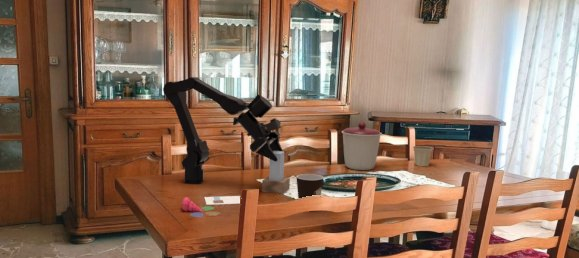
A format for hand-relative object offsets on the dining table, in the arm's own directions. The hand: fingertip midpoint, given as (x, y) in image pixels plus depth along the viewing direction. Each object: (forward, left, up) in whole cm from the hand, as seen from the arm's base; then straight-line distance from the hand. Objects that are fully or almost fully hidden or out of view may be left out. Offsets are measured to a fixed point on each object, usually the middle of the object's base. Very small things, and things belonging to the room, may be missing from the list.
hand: (280, 158), depth 178 cm
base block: (-1, 0, -12) cm, 12 cm away
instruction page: (-19, -15, -12) cm, 27 cm away
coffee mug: (+10, -21, -12) cm, 26 cm away
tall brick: (-1, 0, -8) cm, 8 cm away
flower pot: (+71, +51, -12) cm, 88 cm away
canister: (+39, +42, -12) cm, 59 cm away
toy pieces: (-25, -27, -12) cm, 39 cm away
